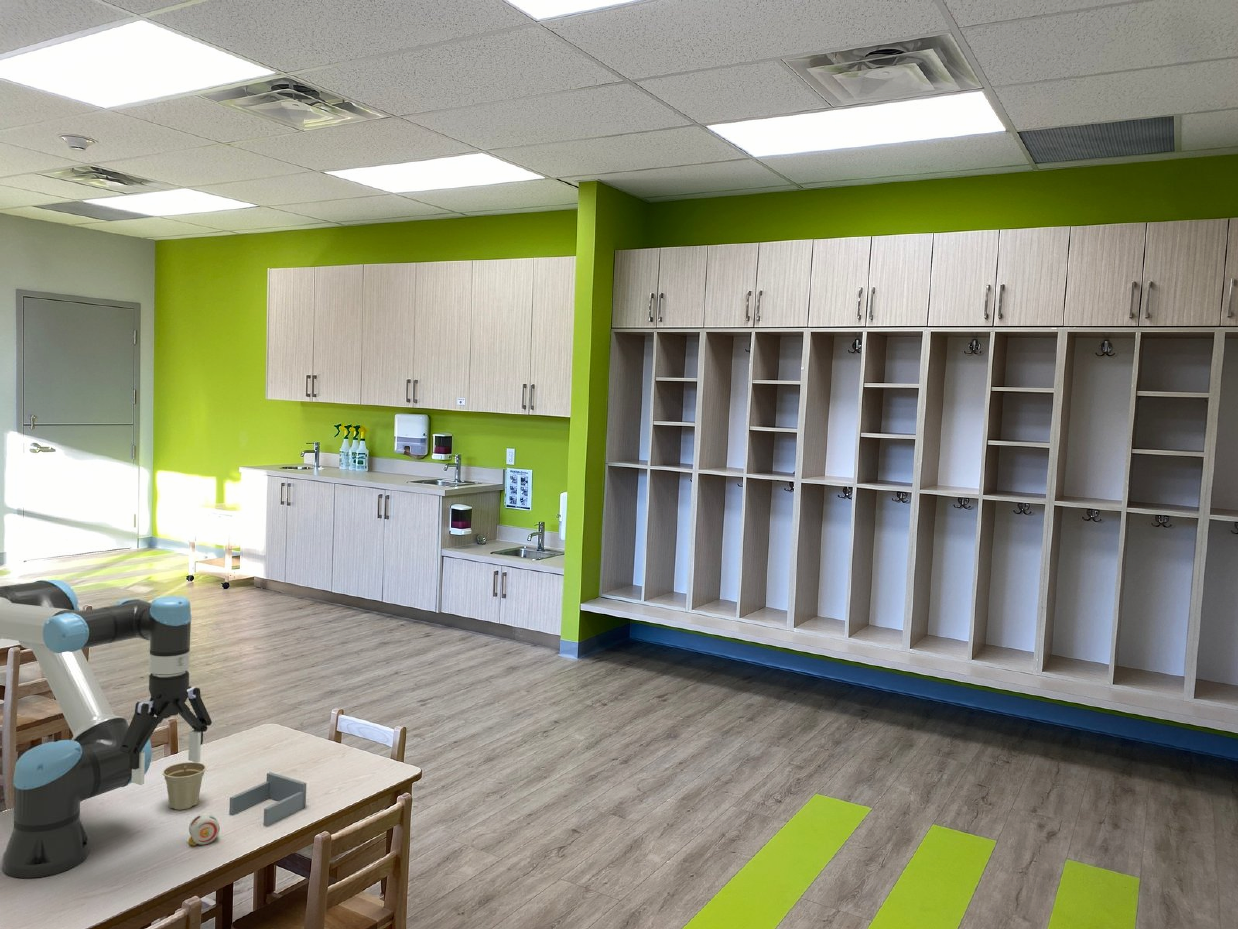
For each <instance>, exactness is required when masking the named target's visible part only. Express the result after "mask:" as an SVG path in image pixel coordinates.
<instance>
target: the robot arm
mask: <svg viewBox="0 0 1238 929" xmlns="http://www.w3.org/2000/svg"><path fill="white" fill-rule="evenodd" d="M78 604H79V600H78V597H77V594H76V592H74V589H72V587H71V586H70V585H69V584H67V583H66V582H64V581H61V580H58V579H48V580H46V579H39V580H35V581H32V582H25V583H17V584H10V585H1V586H0V640H1V639H4V640H10V641H11V640H12V641H18V643H19V645H20V646H21V647H22V648H24V649H28V650H32V653H33V655H34V657H35V659H36V661H37V663H38V665H39V667H40V669H41V672H42V673H43V675H44V678H45V679H46V681H47V684H48V685H49V688H50V690H51V691H52V694H53V696H54V698H55V700H56V702H57V705H58V706H59V709H60V710H61V712H62V714H63V717H64V719H65V721H66V723H67V725H68V727H69V730H70V731H71V733H72V735H73V737H72V738H71V739H62V740H61V739H60V740H58V741H49V742H44V743H42V744H39V745H36V746H34V747H32V748H30V749H28V750H27V751H25V752H24V753H22V755H20V756H19V758H18V760H17V761H16V763H15V767H14V773H13V774H14V775H13V779H12V782H13V783H12V784H13V828H12V832H11V834H10V837H9V840H8V842H7V845H6V848H5V851H4V853H3V855H2V871H3V872H4V874H6V875H8V876H11V877H14V878H19V879H21V878H22V879H31V878H35V879H36V878H41V877H48V876H51V875H56V874H59V873H62V872H66V871H67V870H70V869H72V868H75V867H76V866H78V865H79V864H81V863H83V862H84V861H85V860H86V859H87V857H88V856H89V854H90V853H89V852H90V840H89V838H88V835H87V833H86V830H85V828H84V825H83V823H82V820H81V802H83V801H85V800H88V799H91V798H94V797H96V796H100V795H102V794H105V793H107V792H111V791H113V790H114V791H115V790H117V789H120V788H124V787H127V786H128V785H131V784H132V783H133V784H135V785H139V786H142V785H144V784H145V776H146V774H147V772H148V771H149V769H150V766H151V763H152V762H151V761H152V756H153V753H152V751H153V749H152V744H151V739H150V738H151V737H152V735H153V733H154V731H155V730H156V729H157V727H158V725H159V724H161V723H162V722H163V720H164V719H169V718H170V717H172V716H175V717H176V716H178V715H179V716H181V718H182V719H184V721H185V722H186V723H187V724H188V725H189V726H190V727H191V730H189V731H188V757H187V758H188V762H196V763H198V762H199V763H201V749H202V748H201V745H203V743H204V733H205V732H207V730H208V726H211V725H212V723H213V721H212V719H211V717H210V714H209V712H208V711H207V710H208V709H207V708H206V706H205V704H204V702H203V700H202V697H201V688H200V687H196V686H191V685H190V672H189V671H188V670H189V669H190V658H191V657H190V655H191V652H190V651H191V650H190V647H191V631H192V630H191V629H192V628H191V626H192V618H193V616H192V614H191V601H190V600H189V599H188V598H187V597H185V596H175V595H174V596H173V595H172V596H171V595H170V596H161V597H156V598H155V599H153V600H152V601H151V602H149V601H144V600H142V599H140V598H139V599H138V598H137V599H136V598H133V599H132V598H125V599H121V600H119V601H117V603H114V604H113V605H110V606H105V607H99V608H93V609H86V610H80V607H79V606H78ZM132 639H142V640H145V641H149V657H148V658H149V662H148V663H149V664H148V665H149V666H148V672H149V673H150V674H149V676H148V691H149V694H150V698H149V701H146V702H142V701H136V703H135V707H134V714H133V716H132V719H131V721H130V723H129V722H128V721H127V720H126V718H125V717H124V716H122V715H121V716H120V715H115V713H114V711H113V709H112V707H111V705H110V703H109V701H108V700H107V697H106V695H105V693H104V692H103V689H102V688H101V686H100V683H99V681H98V680H97V678H96V675H95V673H94V672H93V670H92V667H91V665H90V663H89V662H88V660H87V657H86V656H85V654H84V652H83V650H84V649H89V648H92V647H97V646H98V647H99V646H102V645H107V644H112V643H118V642H124V641H127V640H132ZM187 700H188V701H189V703H190V705H191V707H192V709H193V712H192V711H191V708H190V707H189V706H188V704H186V702H187Z"/></svg>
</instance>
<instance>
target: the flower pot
mask: <svg viewBox="0 0 1238 929" xmlns="http://www.w3.org/2000/svg"><path fill="white" fill-rule="evenodd" d="M206 770H207V766H206V764H205V763H202V762H198V763H196V762H193V761H185V762H178V763H174V764H171V765H169V766H166V767H165V768H164V769H162V775H163V776H164V780H165V782H166V789H167V790H166V791H167V796H168V805H169V808H171V809H175V810H177V811H178V810H180V811H182V810H187V809H190V808H192V807H195V806H197V805H198V803H199V798H200V793H201V787H202V781H203V776H204V774H205V772H206Z"/></svg>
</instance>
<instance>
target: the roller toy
mask: <svg viewBox="0 0 1238 929" xmlns="http://www.w3.org/2000/svg"><path fill="white" fill-rule="evenodd" d="M220 829H221V826H220V823H219V821H218V819H217V818H216V816H215V815H214V814H211V813H208V812H205V813H204V812H203V813H201V814H198V815H196V816H195V817H194V818H193V819H192V820H191V821H190V822H189V826H188V832H189V835H190V837H189V838H188V844H189V845H191V846H196V845H201V846H202V845H208V844H210V843H212V842H213V841H214V840H216V839H217V837H218V835H219V833H220Z"/></svg>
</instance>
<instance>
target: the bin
mask: <svg viewBox="0 0 1238 929" xmlns="http://www.w3.org/2000/svg"><path fill="white" fill-rule="evenodd" d="M268 799H269V800H273V801H277V802H275V803H273V804H270V805H268V806H266V807H264V808H263V826H264V827H269V826H271V825H273V824H276V823H277V822H279V821H280V820H283V819H285V818H287V817H289V816H291V815H292V814H295V813H297V812H299V811H301V810H303V809H304V808H306V807H307V806H306V804H307V782H305V781H301V780H297V779H295V778H292V777H288V776H284V775H281V774H278V773H274V772H272V771H269V772H266V781H264V782H262V783H260V784H258V785H255V786H253V787H251V788H248V789H246V790H244V791H241V792H239V793H236V794H235V795H232V796H230V797H229V807H228V808H229V811H228V812H229V813H228V814H229V815H231V816H233V815H236V814H238V813H241V812H243V811H245V810H246V809H248V808H251V807H253V806H255V805H257V804H260V803H261V802H265V801H266V800H268ZM296 811H297V812H296Z"/></svg>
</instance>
